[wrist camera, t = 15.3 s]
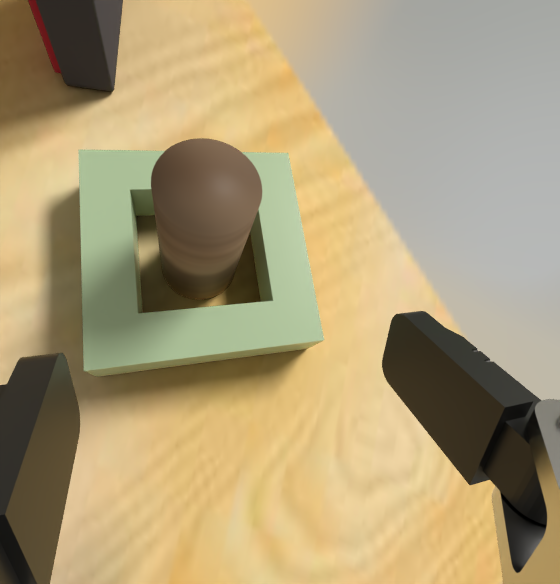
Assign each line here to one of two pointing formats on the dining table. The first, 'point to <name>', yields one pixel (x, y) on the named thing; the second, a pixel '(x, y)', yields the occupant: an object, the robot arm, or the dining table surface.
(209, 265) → the walnut pin
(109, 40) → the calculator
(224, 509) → the dining table surface
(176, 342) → the socket block
